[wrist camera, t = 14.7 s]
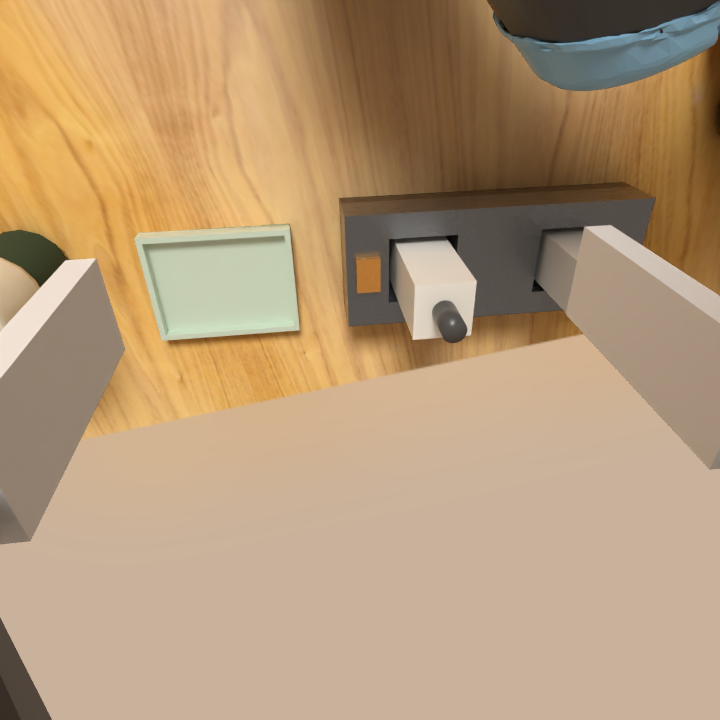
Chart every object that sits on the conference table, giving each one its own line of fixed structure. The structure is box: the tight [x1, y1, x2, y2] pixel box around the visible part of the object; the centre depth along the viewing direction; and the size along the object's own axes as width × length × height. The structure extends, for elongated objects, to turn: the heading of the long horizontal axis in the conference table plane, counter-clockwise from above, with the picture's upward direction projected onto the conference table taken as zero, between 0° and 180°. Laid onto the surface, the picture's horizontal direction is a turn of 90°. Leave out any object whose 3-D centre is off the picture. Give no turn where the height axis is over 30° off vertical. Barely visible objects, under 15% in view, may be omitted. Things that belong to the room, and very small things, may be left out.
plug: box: [390, 236, 477, 343], centre depth 42 cm, size 4×4×14 cm
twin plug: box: [534, 227, 584, 313], centre depth 43 cm, size 4×4×14 cm
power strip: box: [339, 182, 656, 326], centre depth 47 cm, size 10×26×6 cm, turn 91°
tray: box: [135, 224, 300, 341], centre depth 48 cm, size 10×13×2 cm
